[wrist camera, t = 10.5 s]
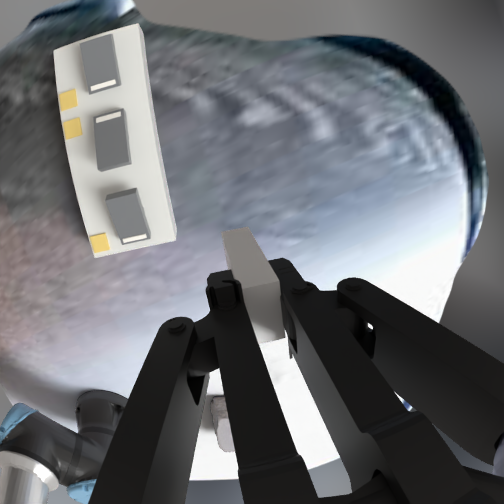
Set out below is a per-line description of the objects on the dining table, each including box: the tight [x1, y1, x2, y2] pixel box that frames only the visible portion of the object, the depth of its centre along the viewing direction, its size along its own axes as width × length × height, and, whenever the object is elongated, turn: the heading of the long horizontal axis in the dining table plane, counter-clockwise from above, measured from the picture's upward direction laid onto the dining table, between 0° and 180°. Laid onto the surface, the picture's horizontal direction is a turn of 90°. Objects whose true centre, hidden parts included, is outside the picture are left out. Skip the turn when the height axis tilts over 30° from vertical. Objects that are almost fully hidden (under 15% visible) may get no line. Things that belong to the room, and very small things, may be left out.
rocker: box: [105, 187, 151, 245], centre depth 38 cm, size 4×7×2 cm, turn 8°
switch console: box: [54, 24, 177, 258], centre depth 37 cm, size 12×30×6 cm, turn 8°
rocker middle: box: [93, 108, 132, 172], centre depth 34 cm, size 4×7×2 cm, turn 8°
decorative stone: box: [210, 396, 235, 452], centre depth 61 cm, size 15×7×10 cm
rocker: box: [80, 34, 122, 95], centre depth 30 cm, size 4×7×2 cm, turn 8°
